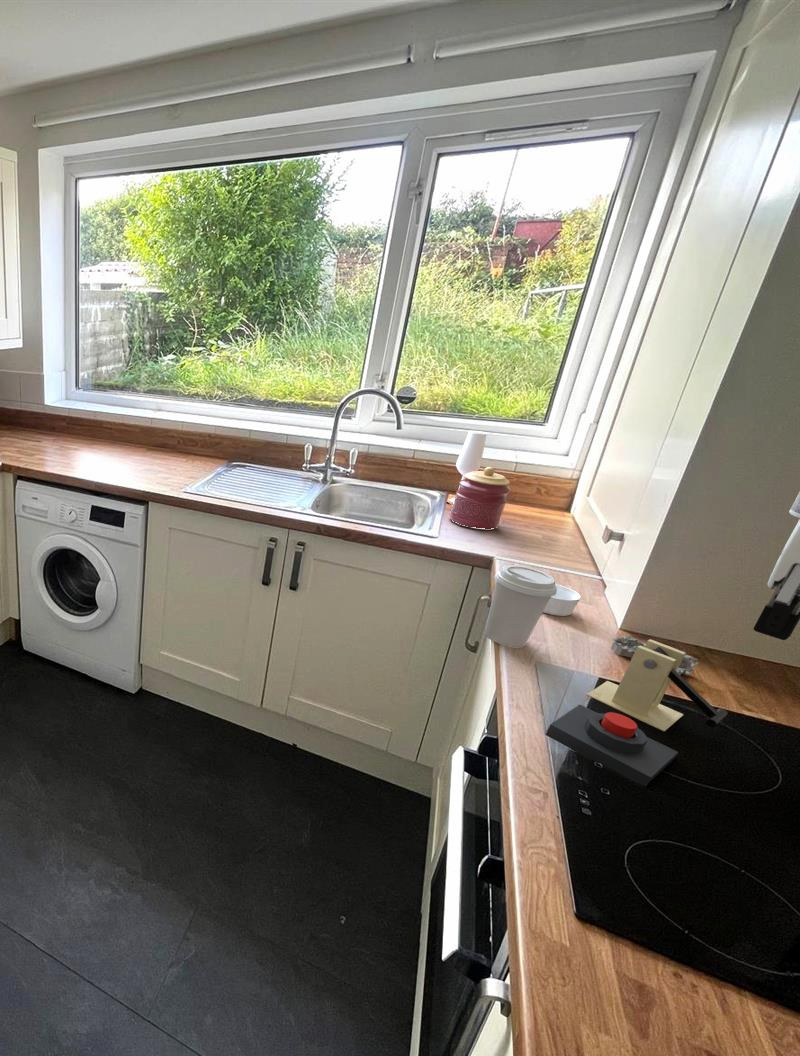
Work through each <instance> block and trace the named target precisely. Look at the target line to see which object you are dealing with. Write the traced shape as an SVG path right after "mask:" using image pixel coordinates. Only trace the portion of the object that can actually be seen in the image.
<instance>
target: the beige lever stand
mask: <svg viewBox="0 0 800 1056" xmlns="http://www.w3.org/2000/svg"><path fill="white" fill-rule="evenodd" d="M645 644H646V645H645V647H643V646H638V647H637V649H636V651H635V653H634V655H633V657H632V658H630V662H629V664H628V665H627V667H626V670H625V672H624V674H623V676H622V679H621V680H620V682H619V684H616V683H614V682H611V681H609V680H606V681H605V682H603V683H602V684H600V685H598V686H597V687H596V688H594V689H593V690H591V691H589V692H588V693H587V694H586V696H588V697H590V698H592V699H594V700H596V701H598V702H600V703H602V704H604V705H607V706H609V707H611V708H613V709H615V710H618V711H619V712H622V713H623V714H626V715H628V716H630V717H632V718H635V719H636V720H638V721H641V722H643V723H645V724H647V725H649V726H651V727H653V728H656V729H658V730H660V731H662V732H663V733H664V732H666V731H667V730H668V729H669V728H670V727H671V726H673V725H674V724H675V723H676V722H678V720H680V719H681V718H682V717H684V715H685V714H684V713H681V712H679V711H677V710H675V709H673V708H670V707H668V706H666V705H663V704H662V703H661V702H662V700H663V698H664V695H665V694H666V692H667V690H668V689H669V686H670V684H671V683H672V682H673V681H672V680H670V679H669V678H668V675H669V673H670V671H671V669H672V668H673V669H674V670H675V671H677V669H678V667H679V665H680V663H681V661H682V659H683V658H684V656H685V654H687V652H685V651H682V650H680V649H678V648H674V647H672V646H669V645H666V644H664V643H661V642H659V641H656V640H654V639H651V638H649V639H648V640H647V641H646V643H645ZM657 647H660V648H661V649H662V650H663V651H664V652H665V653H666V654H668V655H669V656H670V657H668V656H666V655H663V654H661V653H658V652H656V651H653V649H655V648H657Z"/></svg>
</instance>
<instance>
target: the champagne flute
mask: <svg viewBox="0 0 800 1056" xmlns="http://www.w3.org/2000/svg"><path fill="white" fill-rule="evenodd" d="M487 435H488V433H487V432H485V431H479V430H469V431H468V434H467V435H466V438H465V441H464V443H463V446H462V448H461V450H460V453H459V455H458V458H457V460H456V463H455V467H456V469H457V471H458V473H460V475H461V480H464V479H465V474H467V473H471V472H472V471H480V468H481V465H482V461H483V460H482V459H483V455H484V450H485V445H486V439H487ZM459 488H460V485H459V487H458V489H459ZM449 500H450V501H451V502H453V503H454V500H455V497H454V498H450V499H449Z"/></svg>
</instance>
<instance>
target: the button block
mask: <svg viewBox="0 0 800 1056" xmlns="http://www.w3.org/2000/svg"><path fill="white" fill-rule="evenodd" d="M605 714H606V713H599V712H596V711H594V710H593V709H590V708H588V707H587V706H584V705H582V704H578V705H577V706H575V707H573V708H572V709H571V710H569V711H568V712H566V713H565V714H563V715H562V716H561V717H559V718H557V719H556V720H554V721H553V722H551V723H550V724H549V726H548V728H547V731H546V733H545V736H546V737H548V738H550V739H551V740H554V741H555V742H557V743H560V744H561V745H563V746H565V747H566V748H569V749H571V750H572V751H574V752H576V753H577V754H579V753H580V754H579V755H581V754H582V755H581V756H583V755H584V756H583V757H585V756H586V757H585V758H587V757H588V758H587V759H589V758H590V759H591V761H592V760H593V761H592V762H594V761H596V762H598V763H601V764H602V765H604V766H606V767H608V768H610V769H612V770H614V771H616V772H618V773H620V774H622V775H623V776H625V777H627V778H628V779H630V780H632V781H634V782H636V783H639V784H641V785H644V786H647V785H648V784H650V782H651V781H653V780H654V779H655V778H656V777H657V776H658V775H659V774H660V773H661V772H662V771H663V770H665V769H666V768H667V766H669V765H670V764H671V763H672V762H673V761H674V760H675V759H676V757H677V756H678V754H679V752H678V751H677V750H675V749H673V748H671V747H669V746H667V745H664V744H663V743H661V742H659V741H656V740H654V739H652V738H650V737H648V736H647V735H646V733H645V732H644V731H643V730H641V729H640V728H639V727H637V729H636V731H635V733H634V735H633V737H631V738H624V737H621V736H617V735H615V734H613V733H611V732H609V731H607V730H606V729H604V728H603V727H602V726H601V722H602V720H603V718H604V716H605ZM590 759H589V760H590ZM596 762H595V763H596ZM598 763H597V764H598ZM602 765H601V766H602Z"/></svg>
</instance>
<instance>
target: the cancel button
mask: <svg viewBox="0 0 800 1056" xmlns="http://www.w3.org/2000/svg"><path fill="white" fill-rule="evenodd" d="M604 714H605V716H604V718H603V720H602V722H601V726H602V727H603V728H604V729H606V730H607V731H609V732H611V733H613V734H615V735H617V736H621V737H624V738H631V737H633V735H634V733H635V731H636V729H637V728H638V724H637V723H636V721H634V720H632V719H631V718H630V717H628V716H626V715H623V714H621V713H617V712H613V711H612V712H606V713H604Z"/></svg>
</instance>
